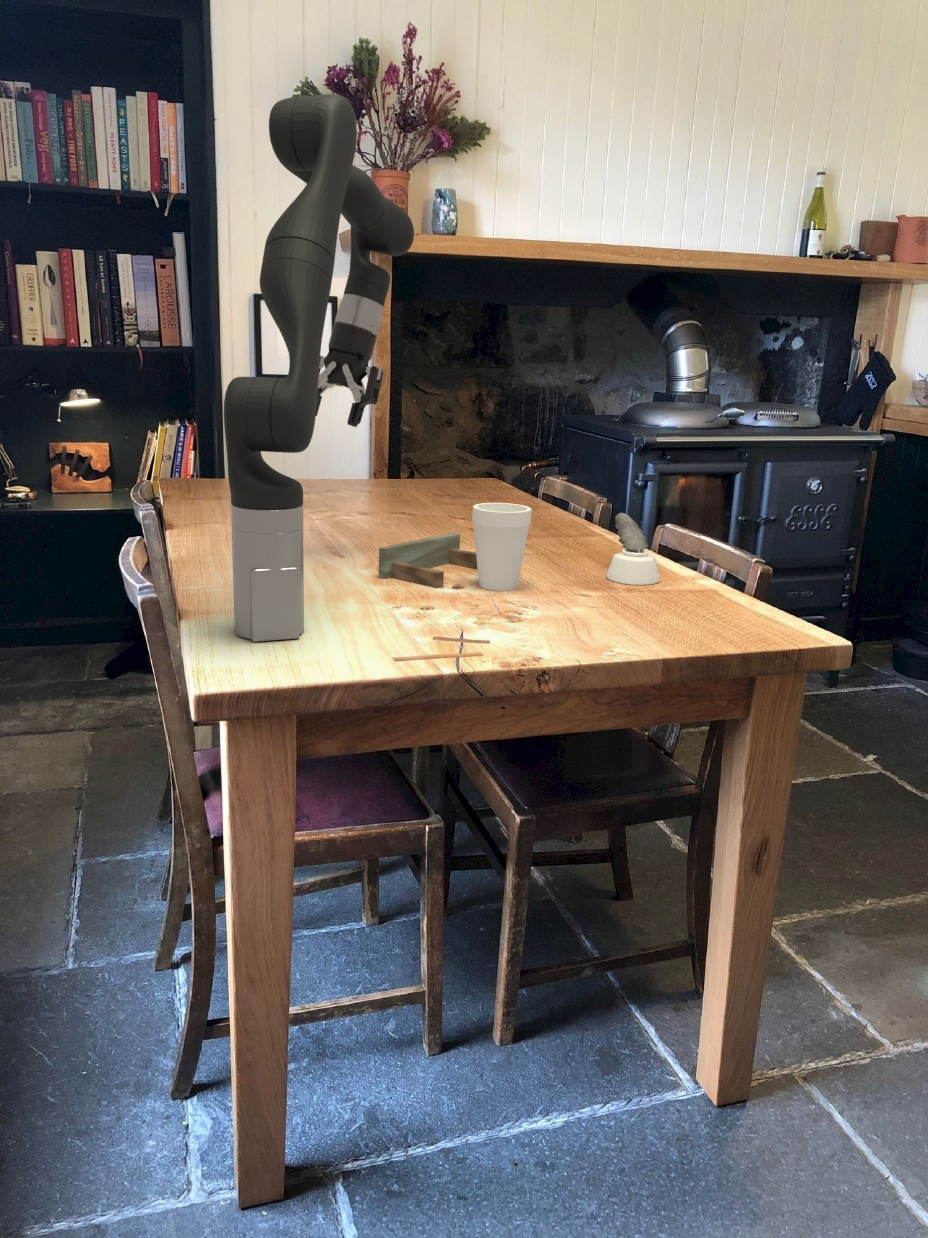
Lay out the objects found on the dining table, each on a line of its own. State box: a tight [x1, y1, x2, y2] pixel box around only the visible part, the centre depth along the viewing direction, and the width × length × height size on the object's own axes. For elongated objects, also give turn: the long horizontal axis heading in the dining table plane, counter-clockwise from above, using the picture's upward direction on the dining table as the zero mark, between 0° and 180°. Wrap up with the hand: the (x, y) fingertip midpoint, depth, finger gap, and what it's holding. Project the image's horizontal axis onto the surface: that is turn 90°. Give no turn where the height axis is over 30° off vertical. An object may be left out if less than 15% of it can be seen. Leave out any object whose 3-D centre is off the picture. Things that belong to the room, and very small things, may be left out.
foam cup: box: [471, 502, 532, 592], centre depth 160 cm, size 10×9×13 cm
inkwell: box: [605, 512, 660, 586], centre depth 173 cm, size 9×18×10 cm, turn 10°
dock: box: [378, 532, 478, 589], centre depth 168 cm, size 12×20×5 cm, turn 142°
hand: (331, 420), depth 168 cm, fingers open, 8 cm apart
